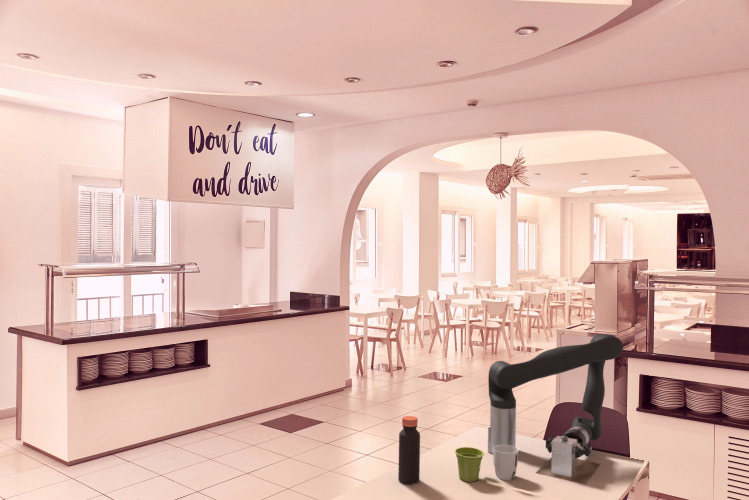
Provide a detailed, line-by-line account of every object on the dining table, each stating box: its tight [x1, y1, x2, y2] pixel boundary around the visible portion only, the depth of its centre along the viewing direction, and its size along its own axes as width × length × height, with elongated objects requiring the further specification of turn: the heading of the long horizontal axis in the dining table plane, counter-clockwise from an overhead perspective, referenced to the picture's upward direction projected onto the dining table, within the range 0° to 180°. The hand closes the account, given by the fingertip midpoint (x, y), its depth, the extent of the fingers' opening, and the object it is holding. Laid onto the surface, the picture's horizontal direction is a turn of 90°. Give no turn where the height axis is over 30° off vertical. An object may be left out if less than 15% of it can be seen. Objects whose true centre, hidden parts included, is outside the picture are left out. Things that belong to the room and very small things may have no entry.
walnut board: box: [535, 456, 601, 485], centre depth 193 cm, size 16×22×1 cm
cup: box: [492, 445, 519, 481], centre depth 184 cm, size 8×8×10 cm
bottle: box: [397, 415, 421, 485], centre depth 182 cm, size 7×7×20 cm
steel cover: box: [551, 435, 578, 479], centre depth 188 cm, size 6×6×12 cm
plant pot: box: [454, 446, 485, 483], centre depth 185 cm, size 9×9×9 cm
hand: (562, 452), depth 186 cm, fingers open, 8 cm apart
